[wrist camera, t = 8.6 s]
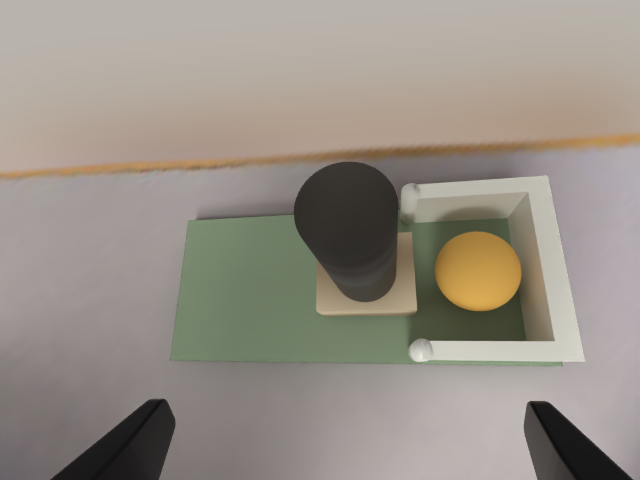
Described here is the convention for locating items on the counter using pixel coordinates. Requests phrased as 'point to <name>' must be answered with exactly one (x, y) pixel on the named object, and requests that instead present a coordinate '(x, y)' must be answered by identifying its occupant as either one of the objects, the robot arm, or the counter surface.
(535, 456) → the robot arm
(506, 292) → the ball
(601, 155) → the counter surface
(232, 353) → the board
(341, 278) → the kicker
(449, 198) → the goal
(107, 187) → the counter surface
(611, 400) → the counter surface
